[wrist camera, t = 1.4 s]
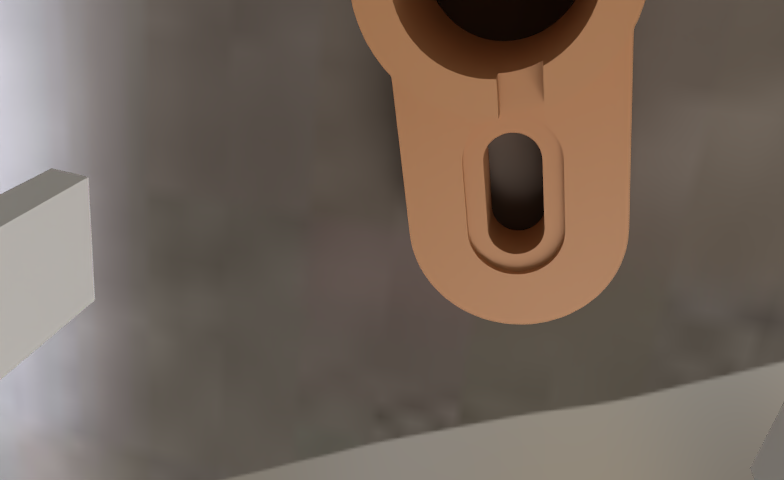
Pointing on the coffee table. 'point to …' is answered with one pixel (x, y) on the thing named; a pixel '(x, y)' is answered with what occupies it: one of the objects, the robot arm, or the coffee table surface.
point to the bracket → (506, 115)
